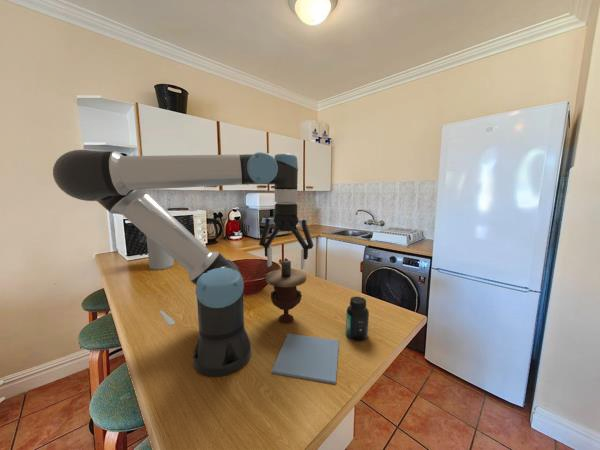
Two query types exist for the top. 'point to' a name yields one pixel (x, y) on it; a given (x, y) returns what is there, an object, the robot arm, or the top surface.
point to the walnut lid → (286, 276)
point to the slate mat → (308, 358)
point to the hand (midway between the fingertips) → (286, 266)
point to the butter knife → (167, 318)
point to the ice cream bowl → (285, 301)
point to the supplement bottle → (357, 319)
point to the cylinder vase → (158, 256)
